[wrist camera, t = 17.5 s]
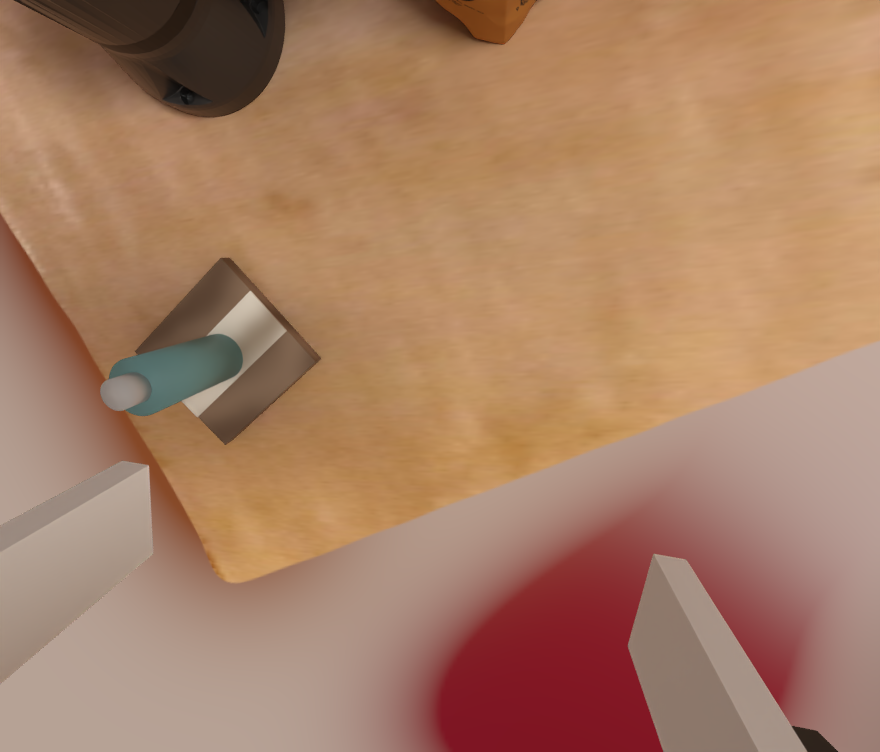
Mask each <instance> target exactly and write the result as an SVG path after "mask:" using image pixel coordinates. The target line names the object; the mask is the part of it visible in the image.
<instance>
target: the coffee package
mask: <svg viewBox="0 0 880 752" xmlns="http://www.w3.org/2000/svg"><path fill="white" fill-rule="evenodd" d="M435 1H436V2H437V3H438V4H440V5H441V6H442V7H443V8H444V9H446V10H447V11H449V12H450V13H452V14H453V15H455V16H456V17H457V18H458V19H459V20H461V21H462V22H463V23H464V25H465V26H466V27H467V28H468V30H469V31H470V32H471V34H472V35H473V37H475V38H477V39H481V40H486V41H489V42H492V43H498V44H505V43H506V42H507V41H509V40H510V38H511V37H512V36H513V35H514V33H515V32H516V30H517V29H518V28H519V26H520V25H521V24H522V23H523V21H524V19H525V18H526V16H527V14H528V12H529V10H530V9H531V7H532V6H533V4H534V3H535V2H536V1H537V0H435Z"/></svg>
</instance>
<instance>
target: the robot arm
mask: <svg viewBox="0 0 880 752" xmlns="http://www.w3.org/2000/svg"><path fill="white" fill-rule="evenodd" d="M14 1H16V2H18V3H20V4H22V5H24V6H26V7H28V8H30V9H32V10H34V11H36V12H38V13H40V14H42V15H44V16H46V17H48V18H50V19H52V20H54V21H55V22H57V23H59V24H61V25H63V26H65V27H67V28H69V29H71V30H73V31H75V32H77V33H79V34H81V35H83V36H85V37H87V38H89V39H90V40H92V41H94V42H96V43H98V44H100V45H101V46H102V47H103V48H104V49H105V51H106V52H107V53H108V54H109V55H110V56H111V57H112V58H113V59H114V60H115V61H116V62H117V63H118V64H119V65H120V66H121V68H122V69H123V70H124V71H125V72H126V73H127V74H128V75H129V76H130V77H131V78H132V79H133V80H134V81H135V82H136V83H137V84H138V85H139V86H140V87H141V88H142V89H144V90H145V91H146V92H147V93H149V94H150V95H152V96H153V97H155V98H156V99H158V100H160V101H161V102H163V103H165V104H168V105H170V106H172V107H174V108H176V109H178V110H180V111H183V112H185V113H188V114H192V115H196V116H203V117H216V116H222V115H226V114H230V113H233V112H235V111H237V110H239V109H241V108H243V107H244V106H246V105H248V104H249V103H250V102H251V101H253V100H254V99H255V98H256V97H257V96H258V95H259V94H260V93H261V92H262V91H263V89H264V88H265V87H266V85H267V84H268V82H269V81H270V79H271V77H272V75H273V74H274V71H275V69H276V67H277V64H278V62H279V59H280V55H281V52H282V47H283V41H284V33H285V13H284V4H283V0H14ZM150 500H151V499H150V479H149V465H144V464H138V463H133V462H127V461H121V462H119V463H117V464H115V465H113V466H111V467H109V468H108V469H106V470H104V471H102V472H100V473H98V474H96V475H95V476H93V477H91V478H89V479H87V480H85V481H83V482H81V483H79V484H78V485H76V486H74V487H72V488H70V489H68V490H66V491H64V492H62V493H61V494H59V495H57V496H55V497H53V498H51V499H49V500H48V501H46V502H44V503H42V504H40V505H38V506H36V507H35V508H32V509H31V510H29V511H27V512H25V513H23V514H22V515H19V516H18V517H15V518H14V519H12V520H10V521H8V522H6V523H4V524H3V525H0V684H1V683H2V682H3V681H5V680H6V679H7V678H8V677H9V676H10V675H12V674H13V673H14V672H15V671H16V670H17V669H19V668H20V667H21V666H22V665H23V664H24V663H26V662H27V661H28V660H29V659H30V658H31V657H33V656H34V655H35V654H36V653H37V652H39V651H40V650H41V649H42V648H43V647H44V646H46V645H47V644H48V643H49V642H50V641H51V640H53V639H54V638H55V637H56V636H57V635H59V634H60V633H61V632H62V631H63V630H64V629H66V628H67V627H68V626H69V625H70V624H72V622H74V621H75V620H76V619H77V618H79V617H80V616H81V615H82V614H83V613H84V612H86V611H87V610H88V609H89V608H90V607H91V606H93V605H94V604H95V603H96V602H97V601H99V600H100V599H101V598H102V597H103V596H104V595H106V594H107V593H108V592H109V591H110V590H111V589H112V588H114V587H115V586H116V585H117V584H119V583H120V582H121V581H122V580H123V579H124V578H125V577H127V576H128V575H129V574H130V573H131V572H133V571H134V570H135V569H136V568H137V567H139V566H140V565H141V564H142V563H143V562H144V561H146V560H147V559H148V558H149V557H150V556H151V555H153V539H152V520H151V501H150ZM628 648H629V651H630V654H631V657H632V660H633V663H634V666H635V669H636V672H637V674H638V677H639V680H640V683H641V686H642V689H643V692H644V695H645V698H646V701H647V704H648V707H649V710H650V713H651V716H652V719H653V722H654V725H655V728H656V731H657V734H658V737H659V740H660V742H661V746H662V749H663V752H838V751H837V750H836V749H835V748H834V747H833V746H832V745H831V744H830V743H829V742H827V740H826V739H825V738H824V737H823V736H822V735H821V734H819V733H818V731H815V730H810V729H805V728H800V727H795V726H791V725H790V723H789V722H788V720H787V719H786V717H785V716H784V714H783V712H782V711H781V709H780V707H779V706H778V704H777V703H776V701H775V700H774V698H773V696H772V695H771V693H770V692H769V690H768V689H767V687H766V685H765V684H764V682H763V680H762V679H761V677H760V676H759V674H758V673H757V671H756V669H755V668H754V666H753V665H752V663H751V661H750V660H749V658H748V657H747V655H746V654H745V652H744V650H743V649H742V647H741V646H740V644H739V642H738V641H737V639H736V638H735V636H734V635H733V633H732V631H731V630H730V628H729V627H728V625H727V623H726V622H725V620H724V619H723V617H722V616H721V614H720V613H719V611H718V609H717V608H716V606H715V605H714V603H713V601H712V600H711V598H710V597H709V595H708V594H707V592H706V590H705V589H704V587H703V586H702V584H701V582H700V581H699V579H698V578H697V576H696V574H695V573H694V571H693V570H692V568H691V566H690V565H689V563H688V562H687V560H685V559H680V558H674V557H669V556H662V555H657V554H653V557H652V561H651V564H650V568H649V572H648V575H647V579H646V582H645V586H644V590H643V593H642V597H641V600H640V604H639V607H638V611H637V615H636V618H635V622H634V626H633V629H632V633H631V636H630V640H629V643H628Z"/></svg>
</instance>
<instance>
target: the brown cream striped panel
mask: <svg viewBox="0 0 880 752" xmlns="http://www.w3.org/2000/svg"><path fill="white" fill-rule="evenodd" d="M213 334H223V335H226V336H228V337H230V338H232V339H233V340H234V341H235V342H236V343H237V344H238V346H239V347H240V349H241V352H242V355H243V365H242V368H241V370H240V372H239V373H238V374H237V375H236V376H234V377H232V378H230V379H228V380H226V381H224V382H221V383H219V384H217V385H215V386H213V387H211V388H208V389H206V390H204V391H202V392H200V393H197V394H195V395H193V396H191V397H189V398H187V399H184V400H182V402H183V403H184V404H185V405H186V406H187V407H188V408H189V409H190V411H191V412H192V413H193V414H194V415H195V416H196V417H199V418H200V419H201V420H202V421H203V423H204V424H205V425H206V426H207V427H208V428H209V429H210V430H211V431H212V432H213V433H214V434H215V435H216V436H217V437H218V438H219V439H220V440H221V441H222V442H223V443H224V444H225V445H226V444H227V443H229V442H230V441H232V440H233V439H234V438H235V437H236V436H238V435H239V434H240V433H241V432H242V431H243V430H244V429H245V428H246V427H247V426H248V425H250V424H251V423H252V422H253V421H254V420H255V419H256V418H257V417H258V416H259V415H260V414H262V413H263V412H264V411H265V410H266V409H267V408H268V407H269V406H270V405H271V404H272V403H274V402H275V401H276V400H277V399H278V398H279V397H280V396H281V395H282V394H283V393H284V392H286V391H287V390H288V389H289V388H290V387H291V386H292V385H293V384H294V383H295V382H296V381H298V380H299V379H300V378H301V377H302V376H303V375H304V374H305V373H306V372H307V371H308V370H310V369H311V368H312V367H313V366H314V365H315V364H316V363H317V362H318V361H319V360H320V359H321V358H320V357H319V355H318V354H317V353H316V352H315V351H314V350H313V349H312V348H311V347H310V346H309V344H308V343H307V342H306V341H305V340H304V339H303V338H302V337H301V336H300V335H299V333H298V332H297V331H296V330H295V329H294V328H293V327H292V326H291V325H290V324H289V322H288V321H287V320H286V319H285V318H284V317H283V316H282V315H281V314H280V313H279V311H278V310H277V309H276V308H275V307H274V306H273V305H272V304H271V303H270V302H269V300H268V299H267V298H266V297H265V296H264V295H263V294H262V293H261V292H260V291H259V289H258V288H257V287H256V286H255V285H254V284H253V283H252V282H251V281H250V280H249V278H248V277H247V276H246V275H245V274H244V273H243V272H242V271H241V270H240V269H239V267H238V266H237V265H236V264H235V263H234V262H233V261H232V260H231V259H230V258H220V260H219V261H218V262H217V263H216V264H215V265H214V266H213V267H212V268H211V269H210V270H209V272H208V273H207V274H206V275H205V276H204V277H203V278H202V279H201V280H200V281H199V282H198V284H197V285H196V286H195V287H194V288H193V289H192V290H191V291H190V292H189V293H188V294H187V295H186V297H185V298H184V299H183V300H182V301H181V302H180V303H179V304H178V305H177V306H176V307H175V309H174V310H173V311H172V312H171V313H170V314H169V315H168V316H167V317H166V318H165V319H164V320H163V322H162V323H161V324H160V325H159V326H158V327H157V328H156V329H155V330H154V331H153V332H152V334H151V335H150V336H149V337H148V338H147V339H146V340H145V341H144V342H143V343H142V344H141V346H140V347H139V348H138V349H137V350H136V351H135V352H136V353H137V354H138V355H140V354H143V353H147V352H151V351H154V350H158V349H162V348H165V347H169V346H173V345H176V344H180V343H184V342H187V341H191V340H194V339H198V338H202V337H205V336H209V335H213Z"/></svg>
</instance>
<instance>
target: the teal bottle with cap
mask: <svg viewBox="0 0 880 752" xmlns="http://www.w3.org/2000/svg"><path fill="white" fill-rule="evenodd" d="M242 365H243V355H242V352H241V349H240V347H239V346H238V344H237V343H236V342H235V341H234V340H233V339H232V338H230V337H228V336H226V335H223V334H213V335H209V336H205V337H202V338H198V339H194V340H191V341H187V342H184V343H180V344H176V345H173V346H169V347H165V348H162V349H158V350H154V351H151V352H147V353H143V354H140V355H136V356H133V357H129V358H125V359H122V360H120V361H118V362H117V363H116V364H115V365H114V366H113V367H112V369H111V372H110V375H109V379H108V380H106V381H105V382H104V383H103V384H102V386H101V389H100V394H101V397H102V400H103V401H104V403H105V404H106V405H107V406H108V407H109V408H111V409H113V410H116V411H123V410H126V411H128V412H129V413H132V414H134V415H138V416H148V415H151V414H154V413H156V412H158V411H160V410H162V409H165V408H167V407H169V406H171V405H173V404H176V403H178V402H180V401H182V400H184V399H187V398H189V397H191V396H193V395H195V394H197V393H200V392H202V391H204V390H206V389H208V388H211V387H213V386H215V385H217V384H219V383H221V382H224V381H226V380H228V379H230V378H232V377H234V376H236V375H237V374H238V373H239V372H240V370H241V368H242Z"/></svg>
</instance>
